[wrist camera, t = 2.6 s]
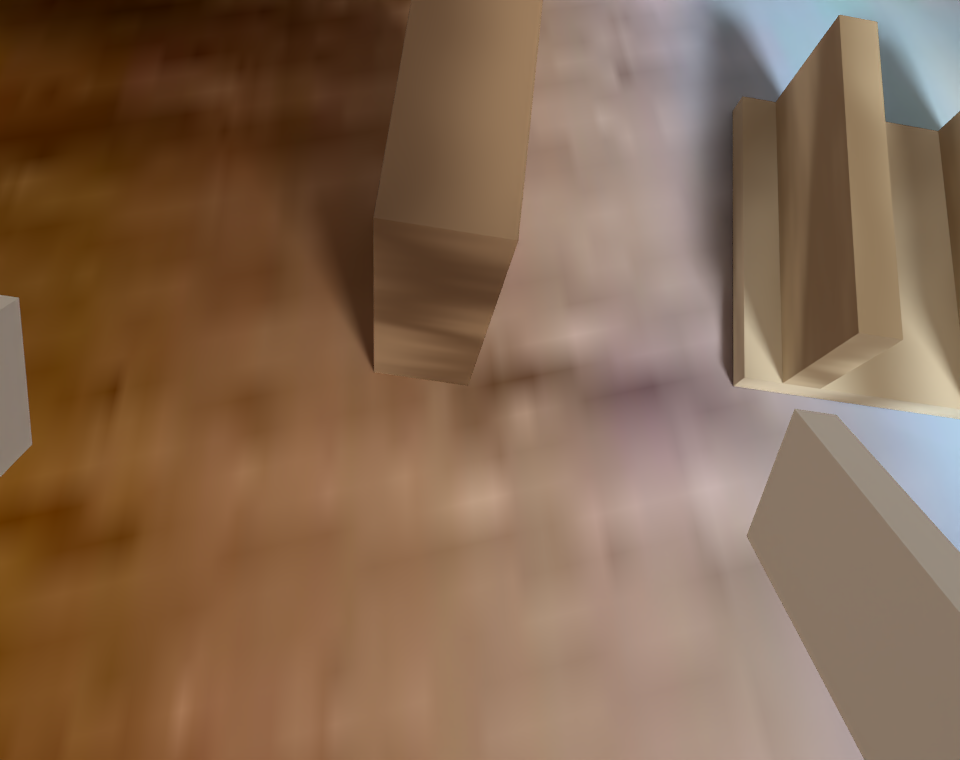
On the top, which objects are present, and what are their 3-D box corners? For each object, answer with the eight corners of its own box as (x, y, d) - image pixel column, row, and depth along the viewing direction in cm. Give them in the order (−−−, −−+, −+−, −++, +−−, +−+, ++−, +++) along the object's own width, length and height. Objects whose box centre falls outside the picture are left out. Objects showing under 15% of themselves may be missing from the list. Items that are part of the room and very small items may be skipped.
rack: (985, 155, 36) (1098, 63, 30) (1021, 428, 32) (1160, 379, 26) (732, 111, 35) (801, 7, 29) (733, 386, 31) (814, 326, 25)
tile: (492, 180, 32) (546, -42, 22) (468, 385, 29) (518, 240, 19) (407, 166, 32) (422, -65, 22) (373, 372, 29) (373, 217, 19)
